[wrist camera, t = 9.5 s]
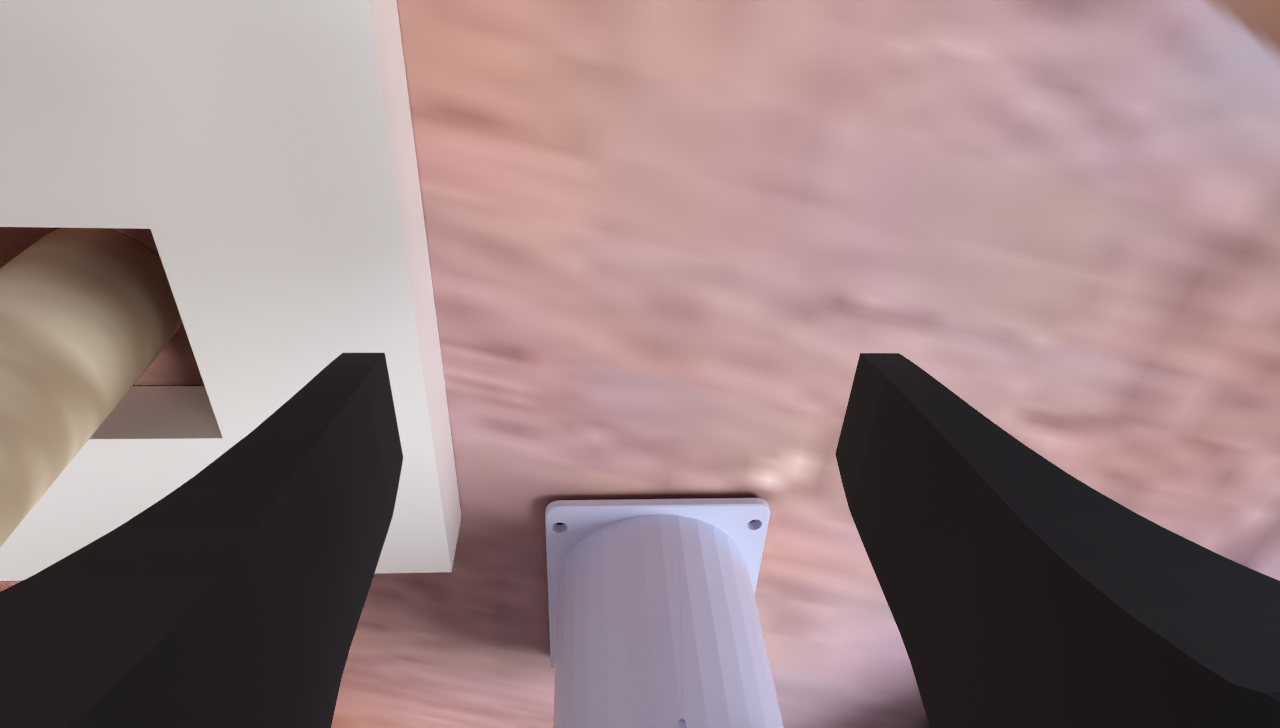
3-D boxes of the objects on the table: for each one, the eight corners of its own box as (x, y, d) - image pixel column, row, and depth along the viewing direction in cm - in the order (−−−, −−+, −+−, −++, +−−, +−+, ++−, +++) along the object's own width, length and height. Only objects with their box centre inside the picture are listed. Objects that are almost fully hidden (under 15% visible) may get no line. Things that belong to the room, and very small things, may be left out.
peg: (201, 350, 23) (19, 597, 15) (60, 350, 23) (-195, 600, 15) (159, 226, 21) (-78, 444, 13) (2, 223, 20) (-330, 446, 13)
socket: (461, 516, 27) (451, 572, 25) (-76, 524, 26) (-133, 583, 24) (389, -54, 17) (363, -39, 15) (-498, -89, 16) (-659, -78, 14)
